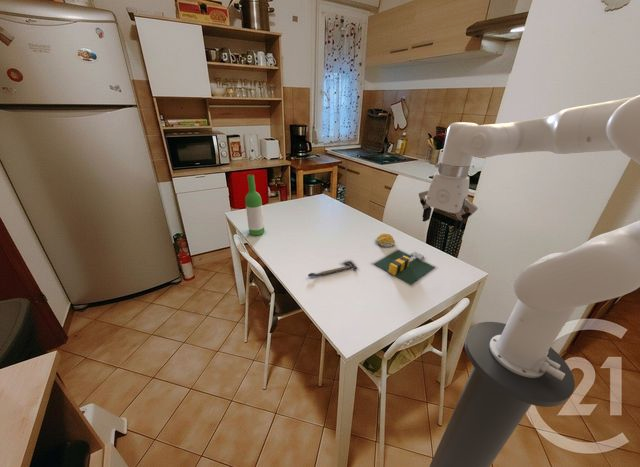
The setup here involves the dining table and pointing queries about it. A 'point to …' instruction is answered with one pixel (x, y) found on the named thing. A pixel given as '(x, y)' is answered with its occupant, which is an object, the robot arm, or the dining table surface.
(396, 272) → the yellow striped handle
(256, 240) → the dining table surface
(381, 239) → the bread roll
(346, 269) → the tomahawk
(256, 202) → the wine bottle
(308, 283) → the dining table surface
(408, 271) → the mat
